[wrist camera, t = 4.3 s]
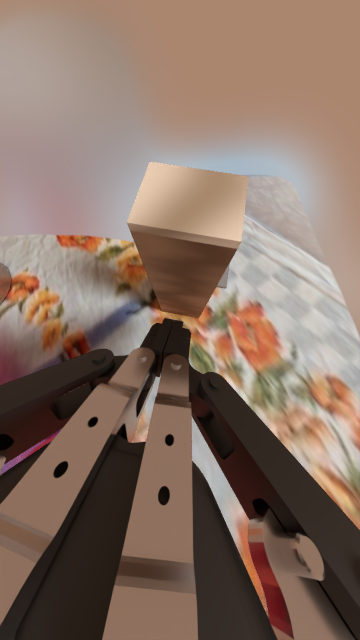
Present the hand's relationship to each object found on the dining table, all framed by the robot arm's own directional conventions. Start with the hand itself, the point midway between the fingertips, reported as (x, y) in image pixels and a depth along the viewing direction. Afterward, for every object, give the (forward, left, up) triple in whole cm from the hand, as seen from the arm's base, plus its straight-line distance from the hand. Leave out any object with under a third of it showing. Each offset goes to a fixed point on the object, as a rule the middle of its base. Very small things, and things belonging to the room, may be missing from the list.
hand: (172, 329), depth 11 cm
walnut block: (0, +5, -6) cm, 8 cm away
